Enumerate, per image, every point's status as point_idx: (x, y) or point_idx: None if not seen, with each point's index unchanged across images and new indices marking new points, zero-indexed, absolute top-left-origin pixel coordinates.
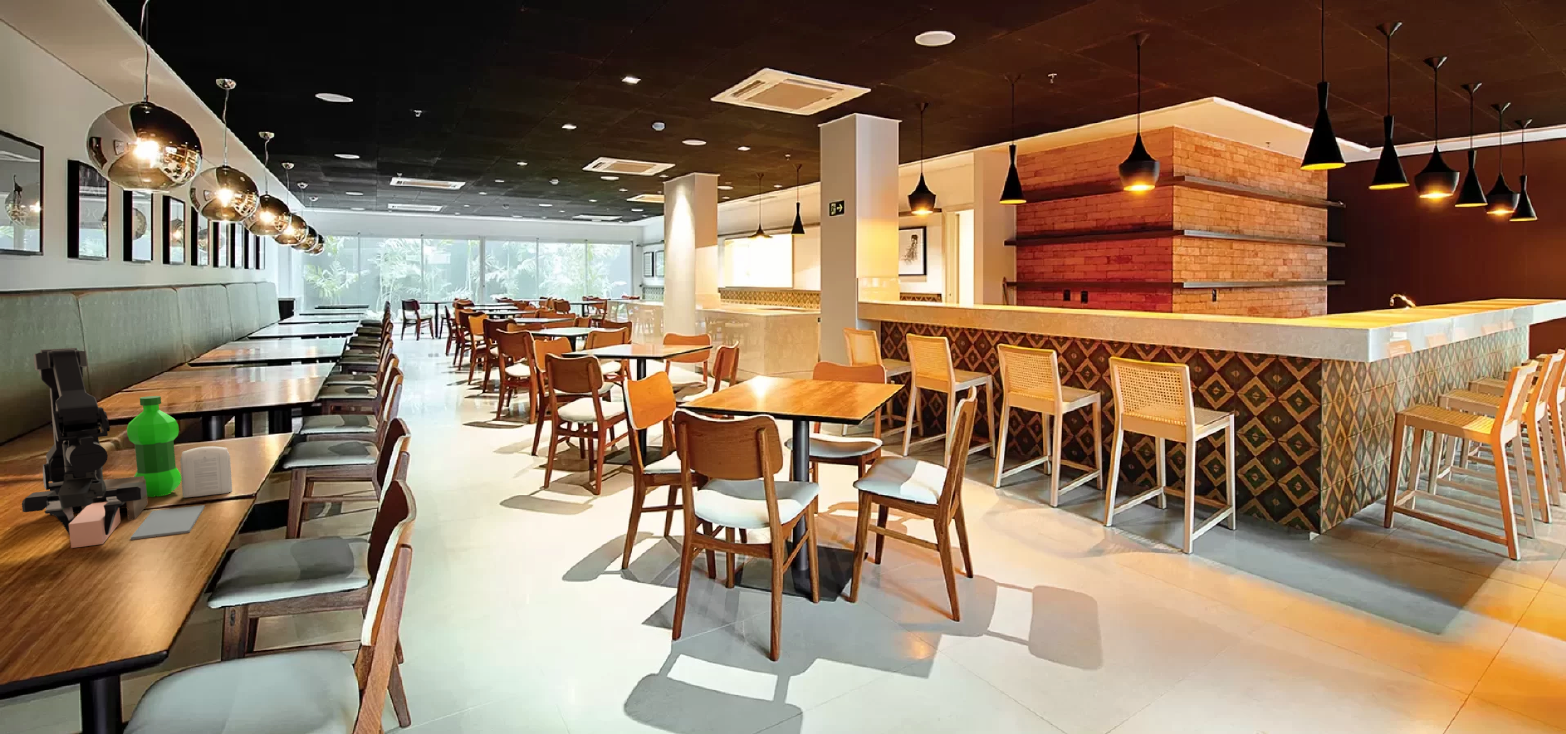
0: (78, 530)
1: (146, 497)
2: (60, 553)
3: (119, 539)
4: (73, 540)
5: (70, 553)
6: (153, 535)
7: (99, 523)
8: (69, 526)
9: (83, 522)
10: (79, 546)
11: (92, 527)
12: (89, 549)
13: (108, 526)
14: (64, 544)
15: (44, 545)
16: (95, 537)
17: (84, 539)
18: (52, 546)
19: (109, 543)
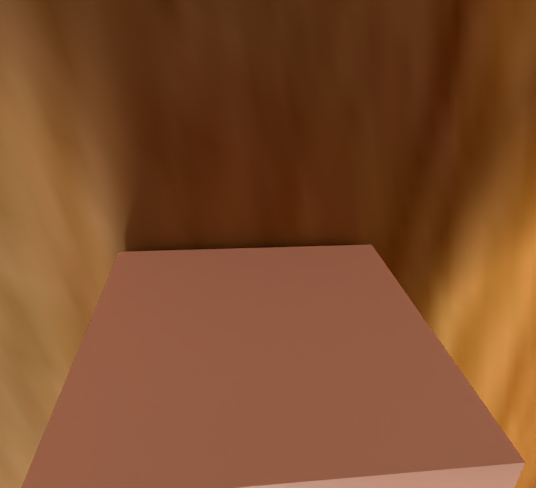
0: (351, 365)
1: None
2: (444, 125)
3: (28, 350)
4: (372, 286)
5: (360, 67)
6: None
7: (59, 445)
8: (490, 424)
9: (305, 482)
10: (309, 246)
11: (178, 392)
12: (205, 131)
13: None
14: None
15: (530, 410)
16: (168, 293)
17: (273, 283)
18: (490, 369)
19: (72, 262)
